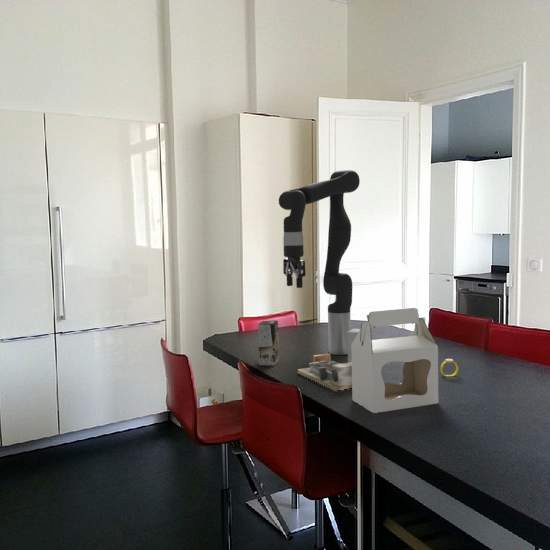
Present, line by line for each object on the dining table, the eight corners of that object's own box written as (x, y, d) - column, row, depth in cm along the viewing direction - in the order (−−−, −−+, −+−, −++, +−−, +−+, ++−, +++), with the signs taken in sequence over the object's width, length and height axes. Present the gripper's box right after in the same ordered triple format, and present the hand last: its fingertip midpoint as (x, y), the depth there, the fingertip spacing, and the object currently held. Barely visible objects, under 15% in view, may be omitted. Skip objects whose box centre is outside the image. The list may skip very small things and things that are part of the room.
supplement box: (371, 361, 223) (370, 329, 222) (366, 365, 216) (365, 332, 215) (353, 359, 226) (352, 328, 225) (347, 364, 219) (346, 331, 218)
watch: (442, 378, 197) (441, 361, 197) (439, 376, 200) (438, 359, 199) (459, 376, 198) (458, 359, 197) (456, 374, 200) (455, 357, 200)
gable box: (414, 391, 182) (413, 304, 180) (439, 403, 170) (438, 309, 167) (351, 400, 175) (349, 309, 173) (372, 413, 163) (370, 316, 160)
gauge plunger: (328, 366, 209) (328, 353, 208) (336, 370, 204) (336, 356, 203) (303, 370, 205) (303, 356, 204) (311, 374, 200) (310, 360, 199)
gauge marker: (325, 377, 195) (324, 366, 194) (326, 377, 194) (326, 367, 193) (319, 378, 194) (319, 367, 193) (320, 378, 193) (320, 368, 192)
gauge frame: (333, 367, 214) (333, 348, 214) (373, 385, 191) (373, 362, 190) (297, 373, 208) (297, 353, 208) (334, 391, 185) (333, 368, 184)
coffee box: (275, 365, 220) (273, 324, 219) (258, 365, 222) (257, 324, 220) (279, 360, 229) (278, 320, 228) (263, 359, 230) (262, 320, 229)
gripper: (311, 244, 212) (312, 287, 214) (294, 243, 225) (295, 284, 227) (292, 245, 209) (293, 289, 211) (276, 244, 222) (277, 285, 224)
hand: (294, 286), depth 219 cm, fingers open, 8 cm apart
